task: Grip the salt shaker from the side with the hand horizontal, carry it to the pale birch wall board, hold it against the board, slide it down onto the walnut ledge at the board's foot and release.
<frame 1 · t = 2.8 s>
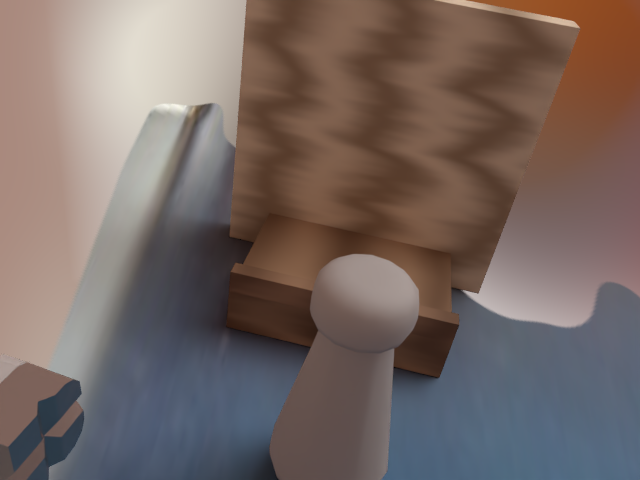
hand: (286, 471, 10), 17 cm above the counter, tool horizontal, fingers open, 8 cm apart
wall board: (353, 257, 46), on the counter
cleat ledge: (342, 303, 41), on the counter
salt shaker: (321, 479, 30), on the counter
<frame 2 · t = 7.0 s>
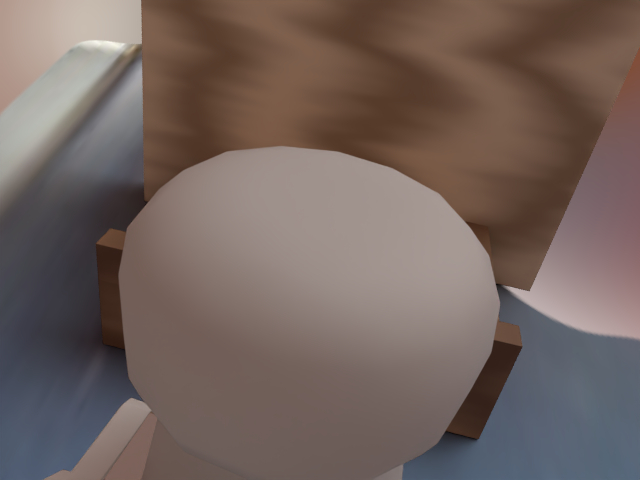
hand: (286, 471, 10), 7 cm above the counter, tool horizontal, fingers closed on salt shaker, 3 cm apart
wall board: (335, 234, 30), on the counter
cleat ledge: (313, 305, 25), on the counter
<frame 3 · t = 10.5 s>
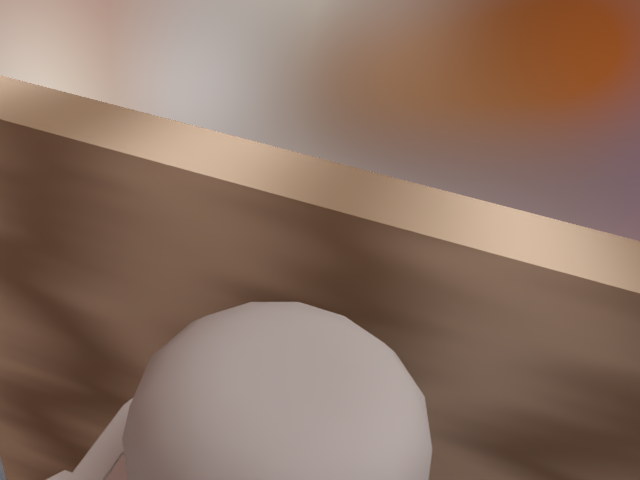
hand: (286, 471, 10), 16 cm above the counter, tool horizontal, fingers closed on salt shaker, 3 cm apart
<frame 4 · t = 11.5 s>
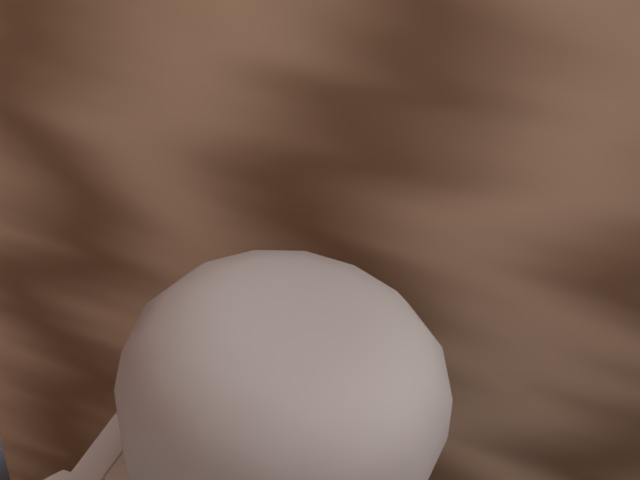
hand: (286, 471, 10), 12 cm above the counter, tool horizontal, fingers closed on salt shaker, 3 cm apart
when the fingers open (11 cm above the counter, at t = 11.9 s): salt shaker stays where it is, resting on cleat ledge.
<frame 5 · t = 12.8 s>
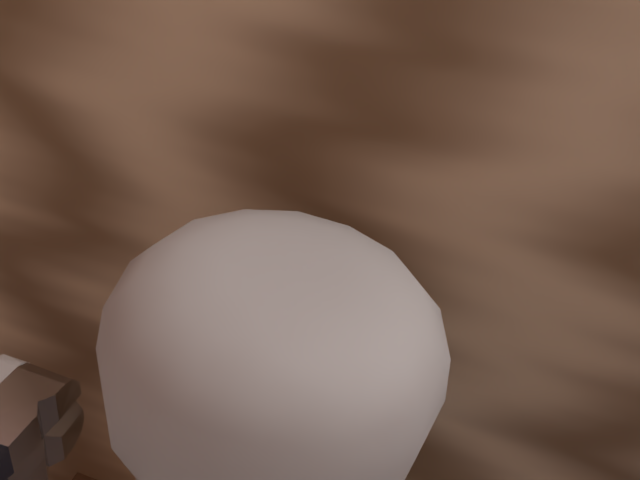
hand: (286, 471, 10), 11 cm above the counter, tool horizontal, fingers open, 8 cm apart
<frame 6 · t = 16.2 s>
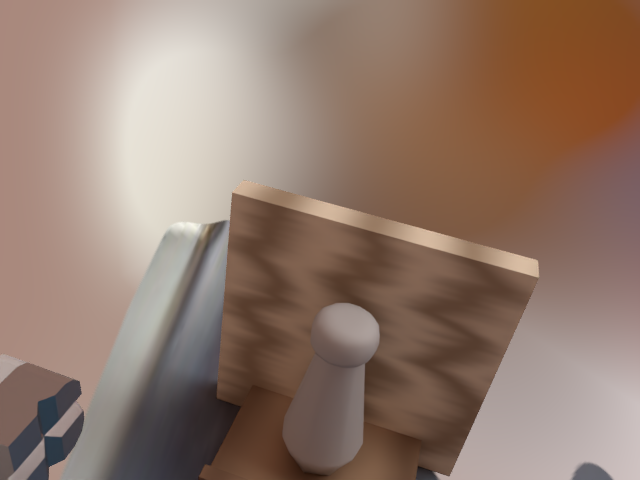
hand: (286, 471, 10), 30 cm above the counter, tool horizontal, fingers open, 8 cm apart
wall board: (332, 426, 48), on the counter
salt shaker: (317, 453, 43), point 3 cm above the counter, touching cleat ledge
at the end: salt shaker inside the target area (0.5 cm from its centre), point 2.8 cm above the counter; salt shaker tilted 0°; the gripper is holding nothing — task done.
